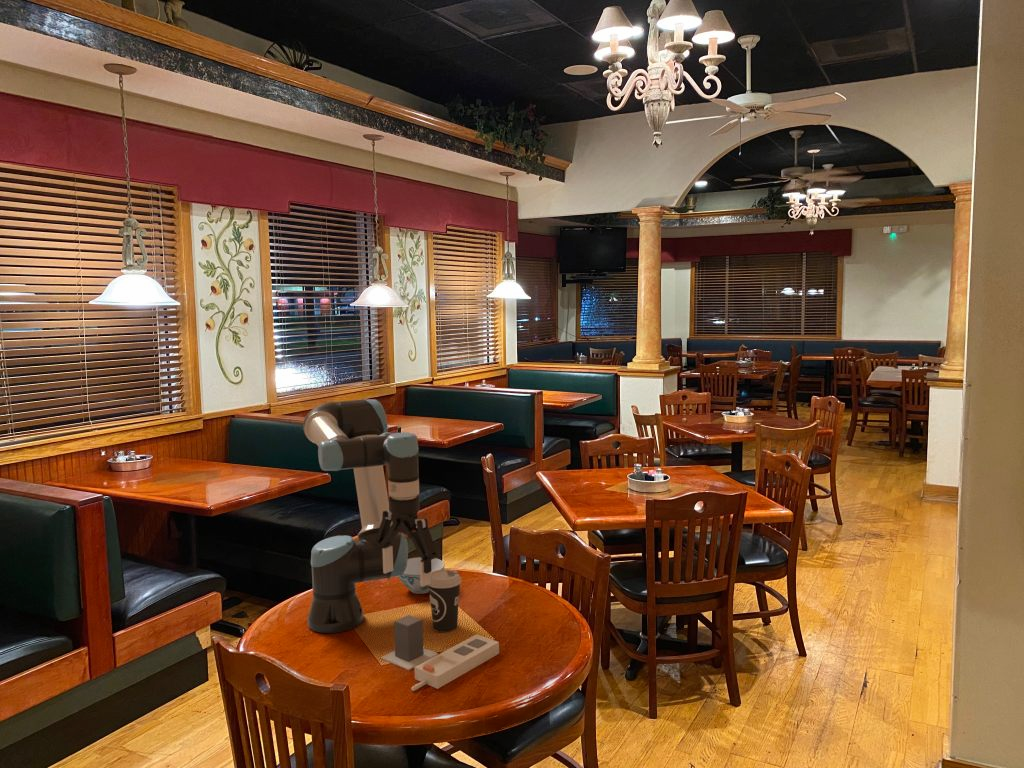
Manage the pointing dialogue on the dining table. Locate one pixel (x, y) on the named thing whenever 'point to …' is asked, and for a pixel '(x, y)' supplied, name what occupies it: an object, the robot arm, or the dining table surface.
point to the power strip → (455, 661)
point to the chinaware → (417, 574)
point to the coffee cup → (444, 599)
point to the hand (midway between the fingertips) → (406, 578)
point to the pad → (411, 664)
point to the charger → (408, 638)
